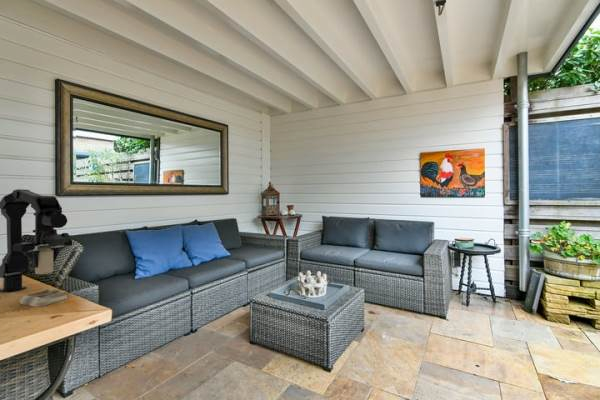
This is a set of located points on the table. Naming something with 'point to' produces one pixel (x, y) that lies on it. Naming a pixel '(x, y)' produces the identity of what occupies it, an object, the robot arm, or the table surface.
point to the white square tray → (43, 297)
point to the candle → (45, 261)
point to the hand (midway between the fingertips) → (44, 266)
